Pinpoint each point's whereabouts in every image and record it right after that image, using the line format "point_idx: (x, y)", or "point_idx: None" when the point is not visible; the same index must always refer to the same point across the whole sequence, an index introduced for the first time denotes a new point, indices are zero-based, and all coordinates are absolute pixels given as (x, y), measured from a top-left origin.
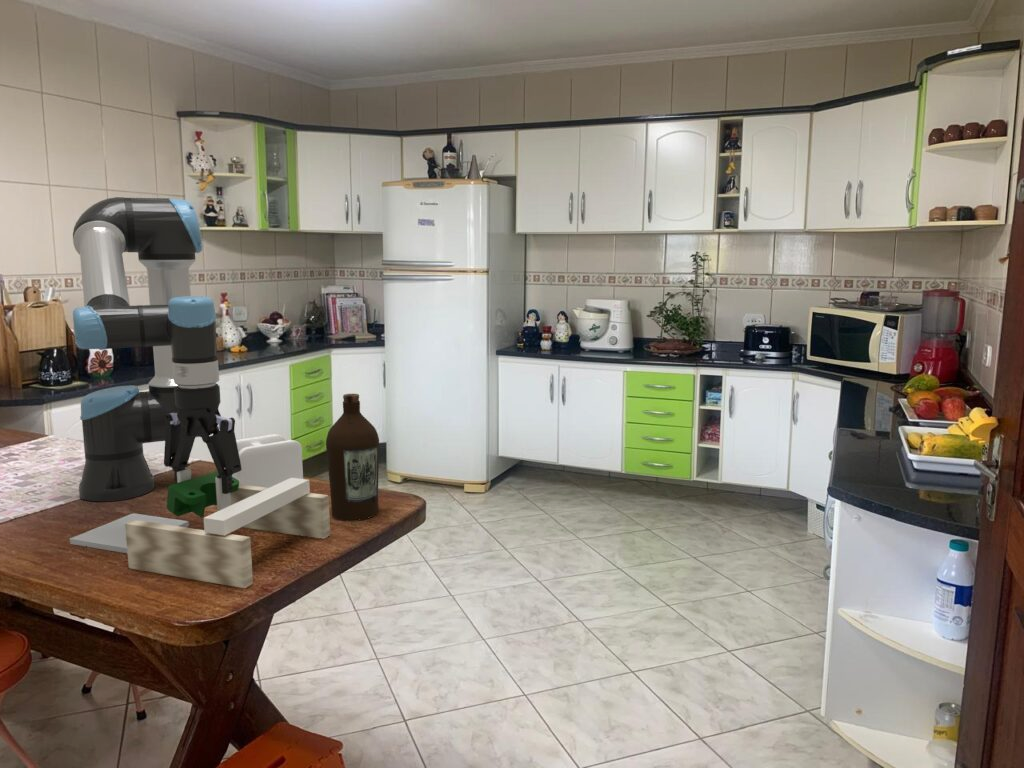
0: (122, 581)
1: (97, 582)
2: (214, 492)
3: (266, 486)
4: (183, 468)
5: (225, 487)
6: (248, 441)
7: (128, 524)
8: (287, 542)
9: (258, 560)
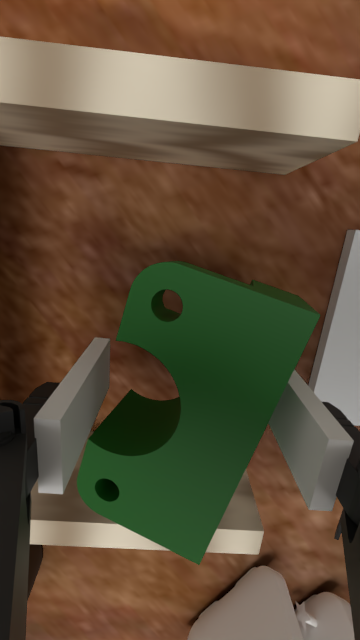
0: (252, 46)
1: (318, 17)
2: (164, 424)
3: (236, 607)
4: (343, 492)
5: (38, 400)
6: None
7: (350, 78)
8: (18, 387)
9: (3, 277)
